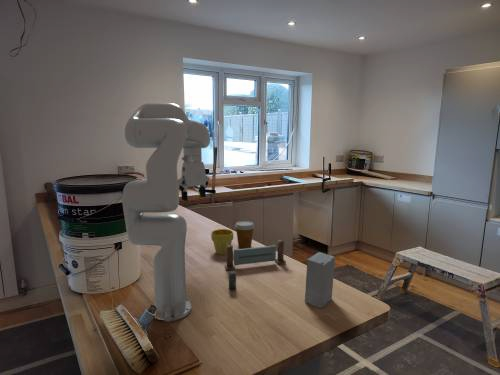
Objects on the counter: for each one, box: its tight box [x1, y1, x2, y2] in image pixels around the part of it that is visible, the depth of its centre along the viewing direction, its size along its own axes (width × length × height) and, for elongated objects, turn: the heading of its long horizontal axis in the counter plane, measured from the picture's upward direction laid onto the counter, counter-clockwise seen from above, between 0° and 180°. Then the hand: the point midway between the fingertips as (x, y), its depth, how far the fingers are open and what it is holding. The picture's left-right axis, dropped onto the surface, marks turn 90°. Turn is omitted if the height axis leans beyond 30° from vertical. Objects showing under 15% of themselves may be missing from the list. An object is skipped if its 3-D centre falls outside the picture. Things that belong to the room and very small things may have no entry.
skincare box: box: [304, 251, 336, 309], centre depth 108 cm, size 8×7×16 cm
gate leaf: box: [233, 244, 277, 266], centre depth 137 cm, size 18×2×7 cm, turn 106°
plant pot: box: [210, 228, 234, 255], centre depth 154 cm, size 10×10×10 cm
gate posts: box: [224, 239, 287, 291], centre depth 129 cm, size 28×20×10 cm
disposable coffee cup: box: [234, 220, 255, 249], centre depth 160 cm, size 10×10×12 cm
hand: (194, 198), depth 141 cm, fingers open, 9 cm apart
